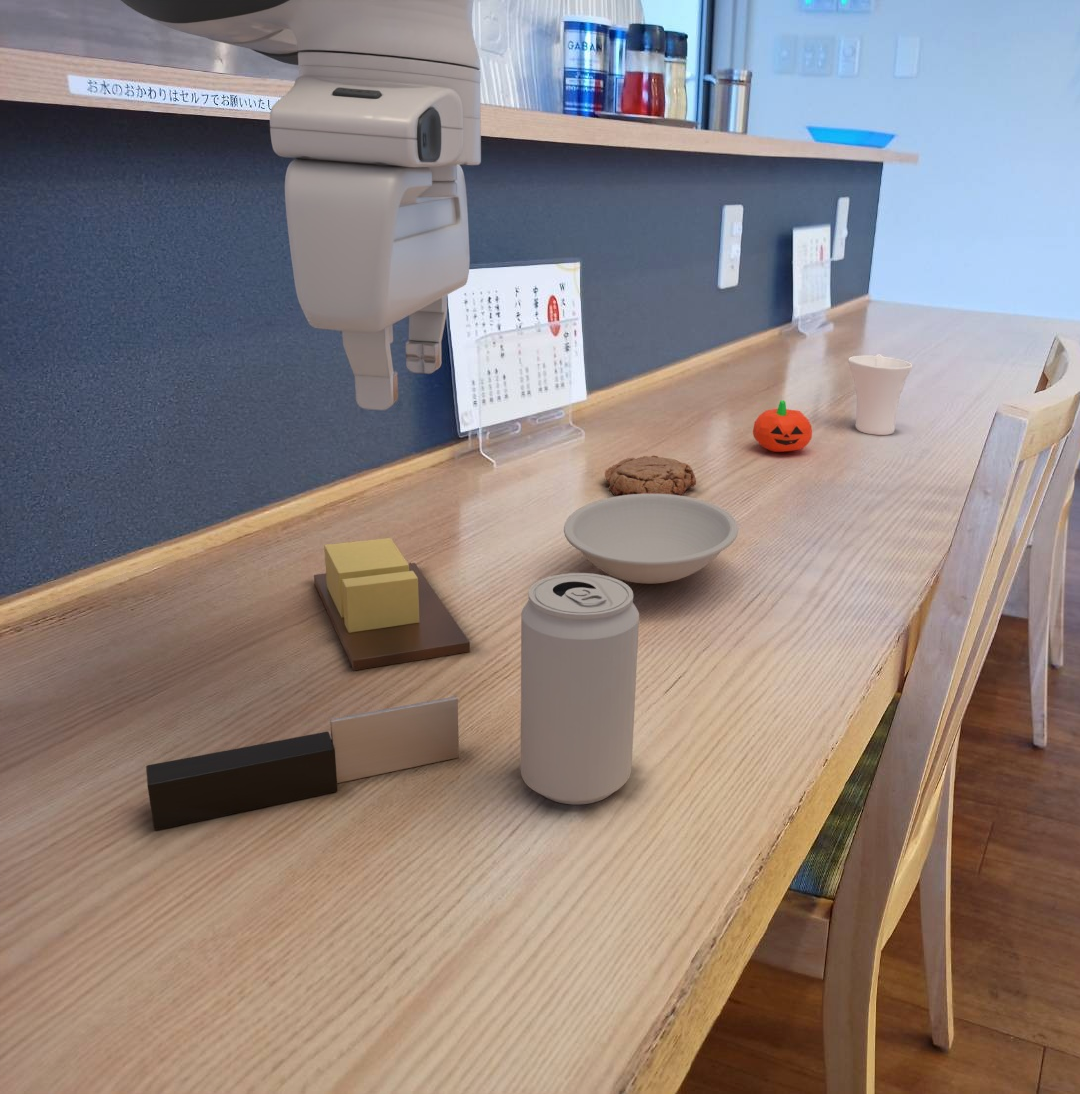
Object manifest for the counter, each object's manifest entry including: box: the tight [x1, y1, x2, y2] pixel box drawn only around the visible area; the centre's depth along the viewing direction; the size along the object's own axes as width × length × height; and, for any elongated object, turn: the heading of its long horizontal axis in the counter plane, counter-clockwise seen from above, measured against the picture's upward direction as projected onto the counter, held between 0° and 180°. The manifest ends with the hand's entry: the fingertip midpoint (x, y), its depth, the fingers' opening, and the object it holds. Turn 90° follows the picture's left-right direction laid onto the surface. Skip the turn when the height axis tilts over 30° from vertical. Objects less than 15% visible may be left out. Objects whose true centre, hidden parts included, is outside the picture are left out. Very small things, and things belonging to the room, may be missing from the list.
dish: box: [563, 494, 739, 585], centre depth 89 cm, size 18×14×5 cm
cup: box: [847, 353, 914, 436], centre depth 145 cm, size 9×9×10 cm
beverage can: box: [519, 572, 640, 806], centre depth 58 cm, size 6×6×12 cm
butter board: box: [313, 562, 471, 671], centre depth 79 cm, size 8×16×1 cm, turn 29°
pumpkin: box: [752, 400, 813, 453], centre depth 131 cm, size 7×8×6 cm
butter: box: [323, 537, 410, 618], centre depth 79 cm, size 5×6×4 cm
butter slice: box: [342, 571, 419, 633], centre depth 75 cm, size 5×2×4 cm, turn 119°
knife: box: [145, 696, 460, 831], centre depth 57 cm, size 16×2×4 cm, turn 119°
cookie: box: [604, 454, 697, 497], centre depth 113 cm, size 10×11×3 cm
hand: (402, 387), depth 59 cm, fingers open, 8 cm apart
